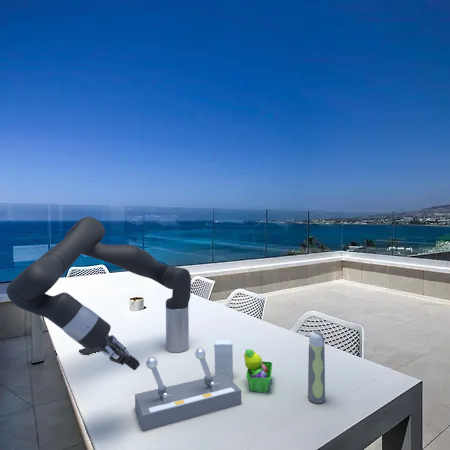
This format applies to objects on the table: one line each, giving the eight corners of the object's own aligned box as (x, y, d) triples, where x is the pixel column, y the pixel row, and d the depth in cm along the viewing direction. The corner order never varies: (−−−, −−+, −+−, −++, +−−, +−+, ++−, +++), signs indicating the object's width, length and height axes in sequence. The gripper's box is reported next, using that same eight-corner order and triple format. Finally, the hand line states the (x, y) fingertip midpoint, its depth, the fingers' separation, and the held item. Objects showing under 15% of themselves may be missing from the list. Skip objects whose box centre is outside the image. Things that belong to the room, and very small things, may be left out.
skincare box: (232, 373, 112) (232, 339, 111) (232, 380, 107) (232, 344, 107) (214, 374, 111) (214, 339, 111) (214, 380, 107) (214, 344, 107)
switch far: (205, 385, 97) (191, 349, 95) (214, 379, 98) (200, 344, 96) (210, 391, 93) (196, 354, 91) (219, 386, 94) (205, 349, 92)
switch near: (158, 396, 91) (143, 358, 89) (168, 390, 92) (153, 352, 90) (162, 403, 87) (145, 364, 85) (172, 397, 88) (156, 358, 86)
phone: (77, 350, 131) (112, 339, 142) (77, 352, 131) (112, 341, 142) (84, 355, 126) (120, 344, 137) (84, 357, 126) (120, 346, 137)
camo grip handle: (306, 394, 98) (306, 329, 98) (323, 395, 98) (323, 329, 97) (309, 403, 93) (309, 334, 93) (326, 404, 93) (326, 335, 92)
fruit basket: (271, 395, 98) (271, 358, 98) (242, 392, 100) (241, 356, 99) (272, 376, 109) (272, 343, 109) (246, 374, 111) (246, 342, 111)
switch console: (135, 408, 92) (134, 387, 91) (225, 386, 103) (225, 367, 103) (142, 431, 82) (142, 407, 82) (241, 403, 94) (241, 383, 93)
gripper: (99, 322, 76) (152, 364, 81) (95, 308, 88) (142, 345, 93) (74, 349, 74) (131, 390, 79) (74, 331, 86) (123, 367, 91)
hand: (137, 366), depth 86 cm, fingers closed
